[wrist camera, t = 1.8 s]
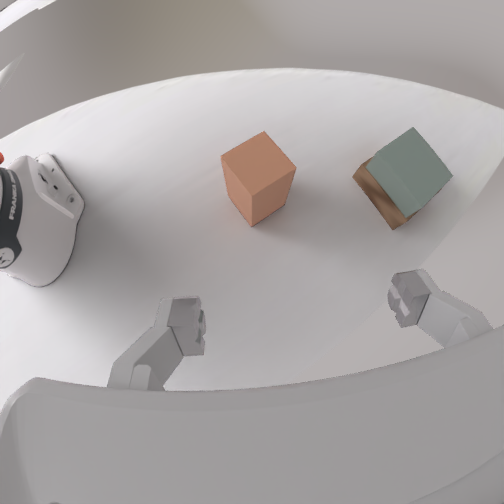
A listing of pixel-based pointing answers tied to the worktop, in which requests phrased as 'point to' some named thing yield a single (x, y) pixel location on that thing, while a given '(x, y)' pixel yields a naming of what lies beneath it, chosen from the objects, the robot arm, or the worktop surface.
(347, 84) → the worktop surface
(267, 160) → the pillar
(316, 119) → the worktop surface
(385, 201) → the tower base
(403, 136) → the tower top
